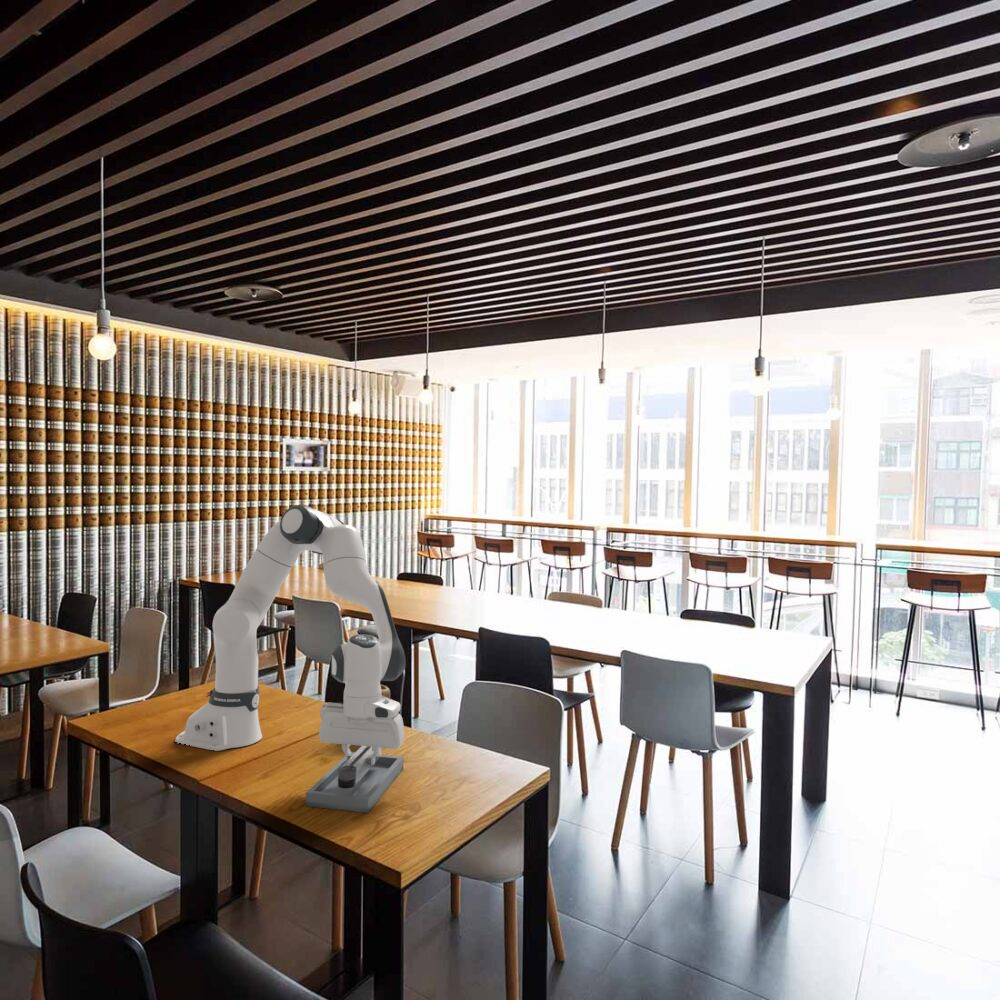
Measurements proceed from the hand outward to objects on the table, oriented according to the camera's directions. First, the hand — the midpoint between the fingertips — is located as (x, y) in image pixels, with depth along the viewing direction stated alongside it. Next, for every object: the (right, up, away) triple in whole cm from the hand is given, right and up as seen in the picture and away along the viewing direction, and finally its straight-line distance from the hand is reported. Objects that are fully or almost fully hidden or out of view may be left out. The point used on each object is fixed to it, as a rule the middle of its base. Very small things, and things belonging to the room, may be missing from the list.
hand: (360, 763), depth 164 cm
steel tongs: (0, -2, 0) cm, 2 cm away
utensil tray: (0, -5, -1) cm, 5 cm away
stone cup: (-6, -5, +34) cm, 35 cm away
